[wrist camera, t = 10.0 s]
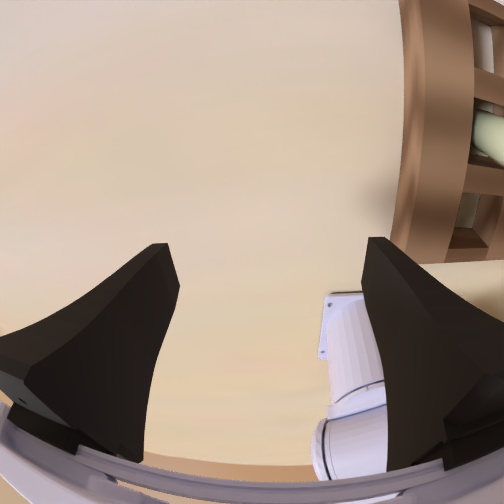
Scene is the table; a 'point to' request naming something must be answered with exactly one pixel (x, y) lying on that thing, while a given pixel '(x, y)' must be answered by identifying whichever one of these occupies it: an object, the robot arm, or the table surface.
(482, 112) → the sage peg
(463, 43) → the hole block
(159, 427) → the table surface
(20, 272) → the table surface
